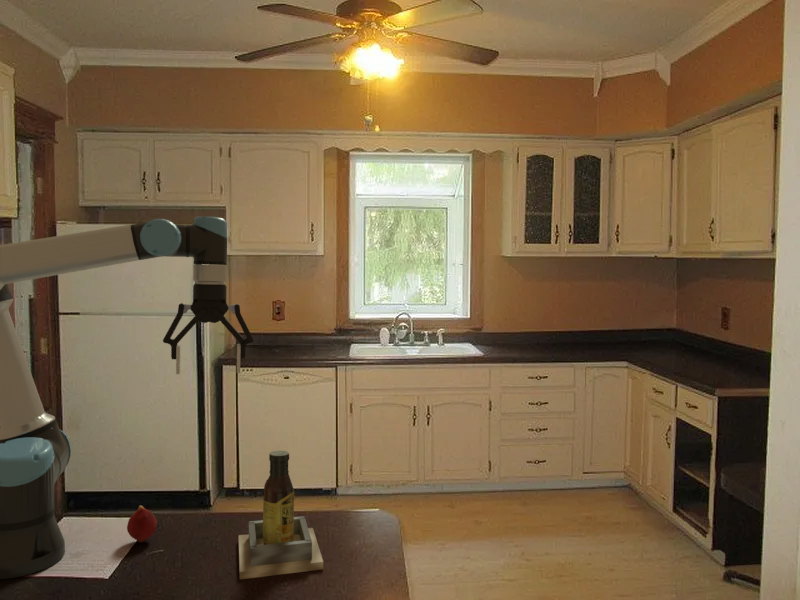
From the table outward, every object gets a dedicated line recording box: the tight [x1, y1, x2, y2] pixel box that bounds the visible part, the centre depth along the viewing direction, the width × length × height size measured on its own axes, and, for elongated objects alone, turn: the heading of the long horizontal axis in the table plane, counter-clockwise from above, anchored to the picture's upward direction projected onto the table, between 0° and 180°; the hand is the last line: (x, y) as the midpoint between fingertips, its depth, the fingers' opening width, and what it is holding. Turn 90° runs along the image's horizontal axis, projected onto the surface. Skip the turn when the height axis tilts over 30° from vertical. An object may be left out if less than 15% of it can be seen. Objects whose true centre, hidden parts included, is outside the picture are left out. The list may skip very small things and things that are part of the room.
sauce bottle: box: [262, 450, 295, 545], centre depth 125 cm, size 7×6×20 cm
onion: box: [126, 505, 158, 543], centre depth 130 cm, size 6×6×8 cm
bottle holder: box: [238, 515, 324, 580], centre depth 125 cm, size 16×16×5 cm
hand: (208, 372), depth 143 cm, fingers open, 13 cm apart
